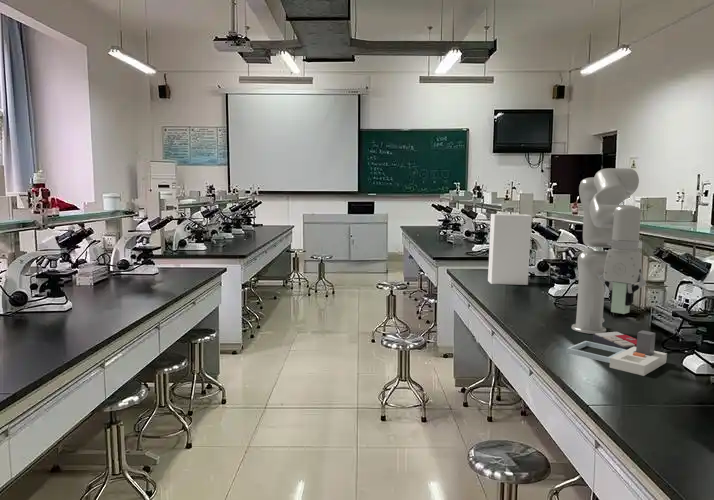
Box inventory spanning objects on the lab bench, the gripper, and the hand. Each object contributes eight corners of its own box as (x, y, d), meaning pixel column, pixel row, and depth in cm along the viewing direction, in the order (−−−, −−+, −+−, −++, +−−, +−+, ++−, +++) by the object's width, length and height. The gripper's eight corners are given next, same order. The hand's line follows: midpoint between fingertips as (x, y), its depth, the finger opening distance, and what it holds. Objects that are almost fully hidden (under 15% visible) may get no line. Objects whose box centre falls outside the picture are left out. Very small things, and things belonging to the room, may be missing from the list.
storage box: (523, 281, 331) (526, 214, 327) (527, 284, 321) (531, 215, 316) (487, 280, 332) (490, 213, 327) (491, 284, 322) (494, 214, 317)
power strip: (633, 358, 185) (634, 344, 184) (665, 365, 178) (667, 351, 177) (609, 370, 172) (610, 355, 171) (643, 379, 165) (644, 363, 164)
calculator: (624, 345, 188) (592, 331, 202) (622, 357, 189) (591, 343, 203) (649, 343, 191) (617, 330, 205) (648, 355, 192) (615, 341, 206)
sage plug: (616, 310, 178) (618, 280, 177) (629, 312, 175) (631, 282, 174) (610, 311, 175) (613, 282, 174) (623, 314, 172) (626, 283, 171)
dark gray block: (640, 358, 181) (642, 330, 180) (653, 361, 178) (655, 332, 177) (635, 361, 178) (637, 332, 177) (648, 364, 175) (651, 335, 174)
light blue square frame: (585, 347, 196) (585, 340, 196) (626, 357, 186) (626, 349, 186) (566, 355, 186) (566, 348, 186) (608, 365, 176) (609, 358, 176)
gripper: (592, 244, 177) (589, 301, 179) (648, 249, 164) (644, 310, 166) (603, 243, 182) (599, 298, 184) (658, 247, 170) (653, 306, 171)
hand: (620, 303), depth 175 cm, fingers closed on sage plug, 4 cm apart
